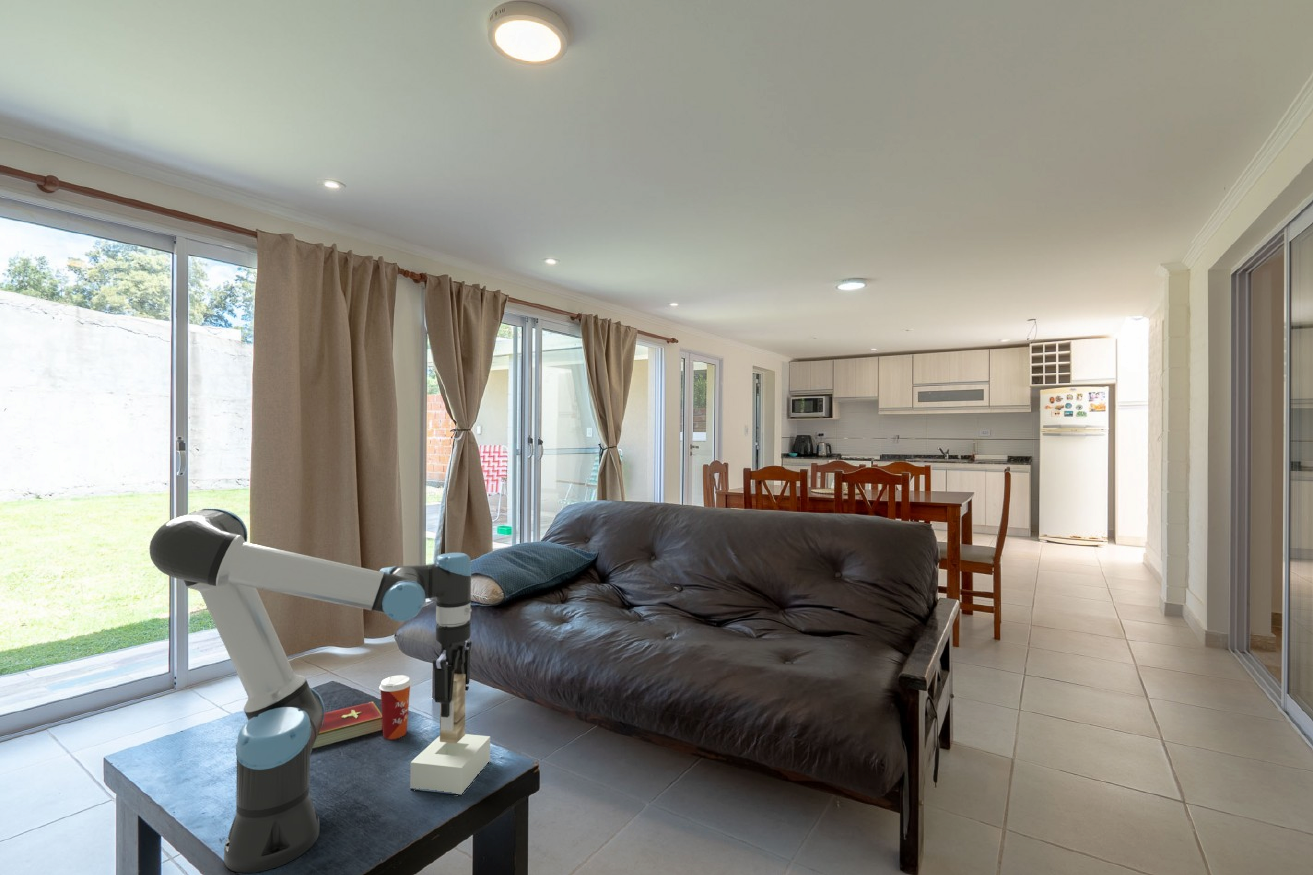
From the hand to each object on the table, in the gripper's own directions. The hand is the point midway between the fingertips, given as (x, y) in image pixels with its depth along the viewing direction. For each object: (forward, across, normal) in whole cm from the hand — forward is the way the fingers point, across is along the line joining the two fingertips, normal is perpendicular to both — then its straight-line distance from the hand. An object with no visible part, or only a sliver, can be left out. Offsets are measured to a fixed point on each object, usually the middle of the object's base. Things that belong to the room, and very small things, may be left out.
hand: (452, 724), depth 137 cm
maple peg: (+3, 0, 0) cm, 3 cm away
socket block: (+12, 0, 0) cm, 12 cm away
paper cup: (+12, +15, +24) cm, 31 cm away
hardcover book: (+12, +13, +40) cm, 44 cm away
